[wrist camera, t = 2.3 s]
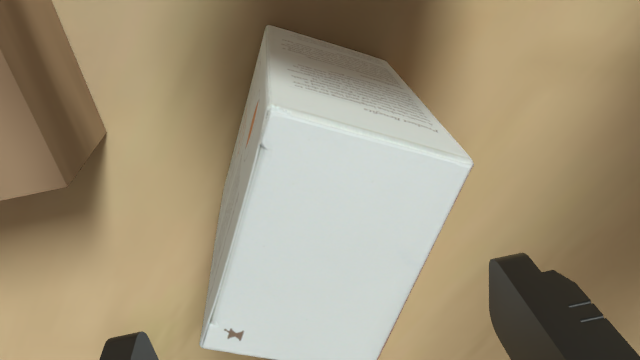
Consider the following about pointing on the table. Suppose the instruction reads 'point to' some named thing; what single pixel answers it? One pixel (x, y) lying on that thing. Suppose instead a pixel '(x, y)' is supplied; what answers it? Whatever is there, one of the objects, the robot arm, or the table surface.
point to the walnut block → (41, 102)
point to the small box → (326, 205)
